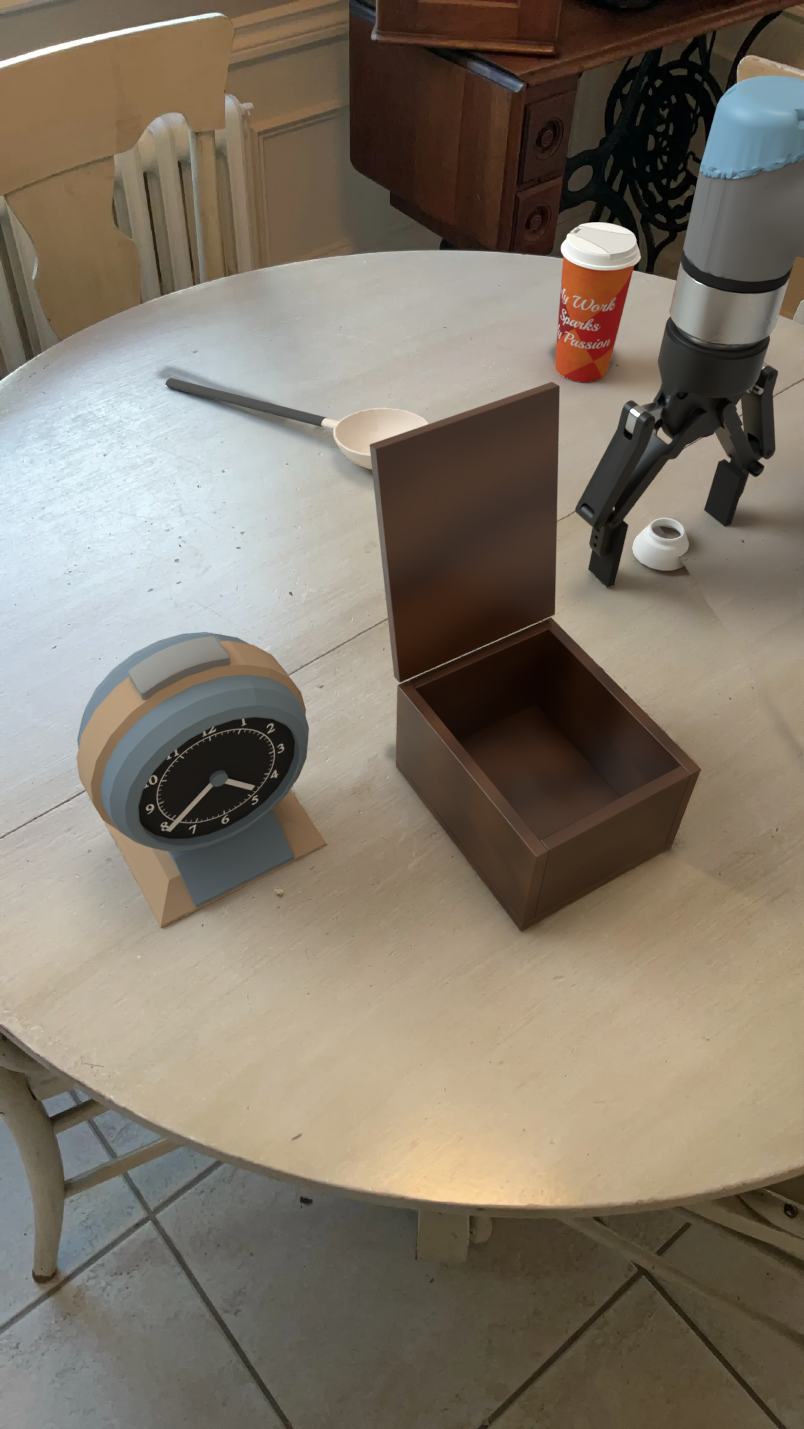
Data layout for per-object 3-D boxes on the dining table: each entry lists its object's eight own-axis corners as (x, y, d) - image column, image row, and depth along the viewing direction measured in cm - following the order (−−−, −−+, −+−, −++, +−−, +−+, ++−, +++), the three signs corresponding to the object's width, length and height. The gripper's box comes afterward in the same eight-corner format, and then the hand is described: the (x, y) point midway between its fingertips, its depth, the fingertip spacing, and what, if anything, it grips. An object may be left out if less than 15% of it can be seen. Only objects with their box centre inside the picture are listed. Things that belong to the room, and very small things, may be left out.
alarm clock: (146, 935, 68) (88, 766, 54) (90, 827, 73) (25, 649, 59) (339, 838, 73) (330, 662, 59) (274, 744, 78) (252, 563, 65)
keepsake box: (672, 847, 73) (701, 768, 66) (521, 932, 68) (536, 857, 61) (536, 699, 81) (551, 616, 75) (395, 766, 77) (396, 684, 70)
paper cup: (531, 372, 111) (548, 241, 101) (567, 341, 116) (586, 212, 105) (597, 396, 109) (621, 264, 98) (631, 364, 113) (657, 234, 102)
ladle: (411, 496, 96) (405, 455, 93) (156, 435, 109) (144, 397, 106) (451, 450, 101) (447, 409, 98) (202, 396, 114) (192, 359, 110)
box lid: (560, 385, 63) (551, 381, 64) (376, 449, 59) (368, 444, 59) (555, 614, 74) (548, 609, 74) (399, 683, 69) (393, 677, 70)
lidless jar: (620, 545, 93) (651, 580, 90) (626, 518, 91) (658, 553, 88) (668, 530, 95) (700, 564, 92) (675, 504, 93) (708, 538, 90)
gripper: (803, 262, 82) (732, 486, 99) (553, 344, 74) (521, 574, 90) (876, 305, 78) (790, 530, 95) (620, 397, 70) (574, 627, 86)
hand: (658, 552), depth 93 cm, fingers open, 12 cm apart
